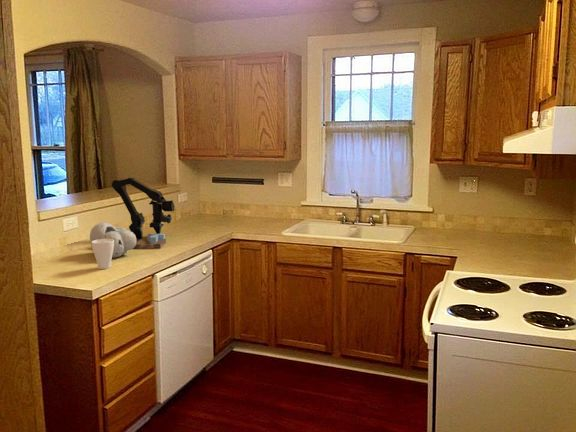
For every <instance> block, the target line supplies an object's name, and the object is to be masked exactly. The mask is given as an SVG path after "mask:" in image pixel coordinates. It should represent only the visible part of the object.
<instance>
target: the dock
mask: <svg viewBox="0 0 576 432" xmlns="http://www.w3.org/2000/svg"><path fill="white" fill-rule="evenodd" d="M145 242H146V241H143V238H141V239H138V241H136V245H135V247H134V248H133V249H134V250H139V249H140V250H143V249H144V250H145V249H146V250H148V249H151V250H152V249H157V250H158V249H162V248H163V247H164V246H165V245H166V243H167V238H165V239H164V240H162V241H157V242H156V243H154V244H150V243H145Z"/></svg>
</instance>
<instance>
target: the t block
mask: <svg viewBox="0 0 576 432" xmlns="http://www.w3.org/2000/svg"><path fill="white" fill-rule="evenodd" d="M146 237H147V242H149V244H154V243H156V242H157V241H162V240H164V239H166V234H165V233H160V234H156V233H147V236H146Z"/></svg>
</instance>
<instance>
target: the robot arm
mask: <svg viewBox="0 0 576 432" xmlns="http://www.w3.org/2000/svg"><path fill="white" fill-rule="evenodd" d="M128 185H131V186H132V187H134V188H135V189H137V190H139V191H140V192H142V193H144V194H145V195H146V196H147V197H148V198H149V199H150V200H151V201H150V202H148V205H152V213H151V216H152V221H151V222H150V223H149V228H153V230H154V232H155V234H161V232H162V227H163V226H164V225H165V223H167V224H171V223H172V219H173V217H172V215H171V214H169V213H168V214H167V215H166V214H165V213H164V212H174V211H175V208H176V207H175V203H174V200H171V199H170V200H167V199H166V198H165V197H164V196H163V193H162V192H161V191H160V190H158V189H154V188H151V187H149V186H148V185H145V184H144V183H142V182H141V181H139V180H137V179H136V178H134V177H128V178H125V179H121V178H118V179H115V180H114V179H113V181H112V182H111V187H112V188H113V190H114V191H115V192H116V193H117V194H118V195H119V196H120V199H121V200H122V202H123V204H124V205H125V208H126V209H127V211H128V213H129V215H130V221H131V224H130V225H129V226H128V228H129V229H128V230H129V231H131V232H133V234H135V236H136V240H141V239H143V237H144V236H143V234H144V233H143V229H142V228H143V225H144V224H145V221H146V220H145V217H144V214H143V213H142V212H139V211H138V210H137V208H136V207H135V205H134V203H133V201H132V199H131V197H130V196H129V194H128V192H127V186H128Z"/></svg>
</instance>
